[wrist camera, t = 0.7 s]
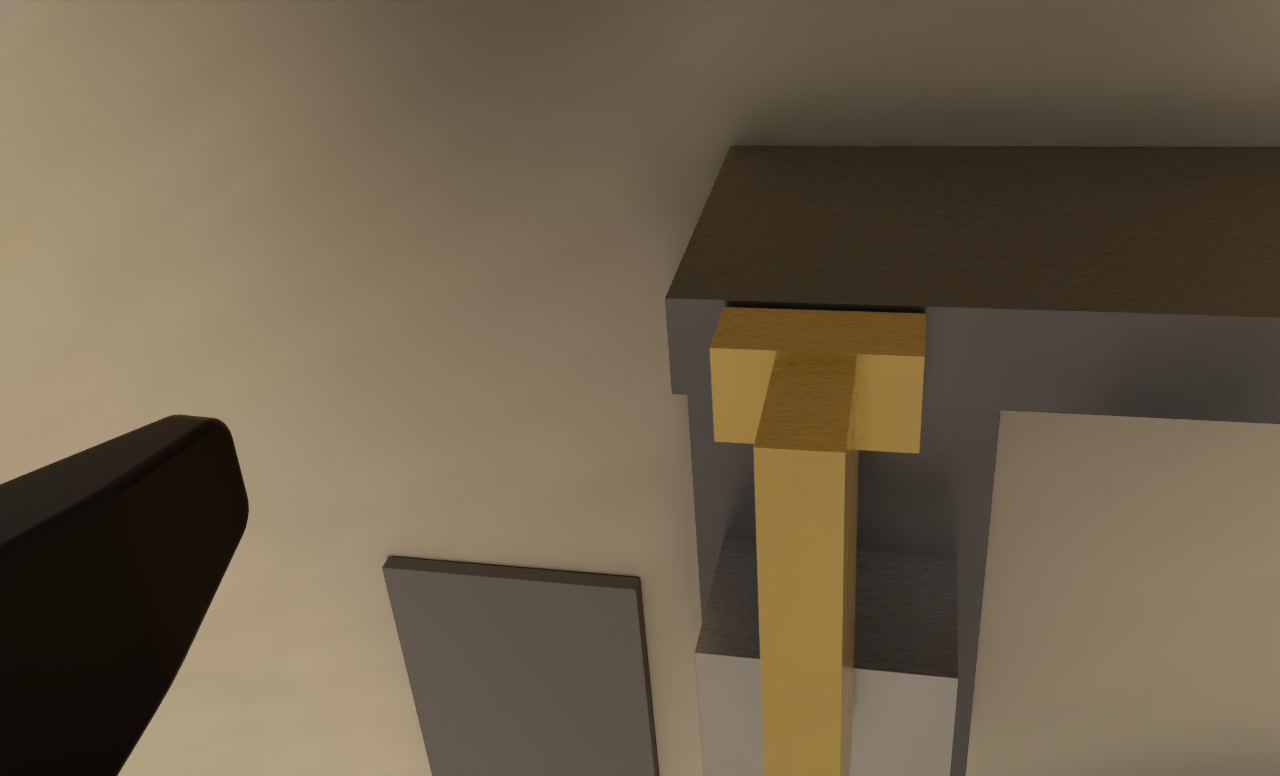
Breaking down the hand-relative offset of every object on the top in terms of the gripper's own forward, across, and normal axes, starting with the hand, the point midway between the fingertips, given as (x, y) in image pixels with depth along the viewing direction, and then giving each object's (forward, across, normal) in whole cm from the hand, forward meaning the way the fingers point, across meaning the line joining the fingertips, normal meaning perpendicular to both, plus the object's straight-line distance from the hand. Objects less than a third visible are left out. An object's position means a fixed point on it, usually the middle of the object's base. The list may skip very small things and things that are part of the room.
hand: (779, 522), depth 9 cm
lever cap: (+10, 0, +10) cm, 14 cm away
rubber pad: (+13, +7, +16) cm, 22 cm away
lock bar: (+7, 0, +6) cm, 9 cm away
